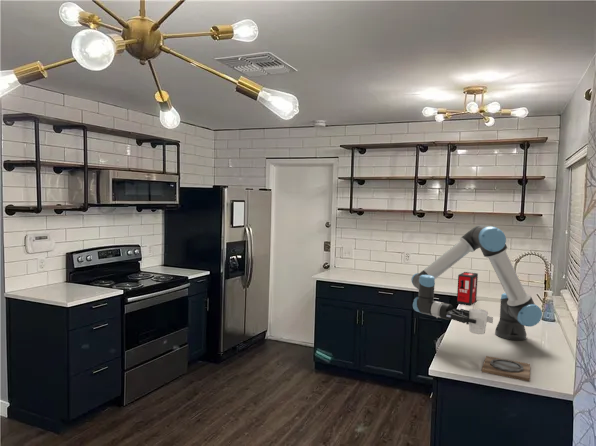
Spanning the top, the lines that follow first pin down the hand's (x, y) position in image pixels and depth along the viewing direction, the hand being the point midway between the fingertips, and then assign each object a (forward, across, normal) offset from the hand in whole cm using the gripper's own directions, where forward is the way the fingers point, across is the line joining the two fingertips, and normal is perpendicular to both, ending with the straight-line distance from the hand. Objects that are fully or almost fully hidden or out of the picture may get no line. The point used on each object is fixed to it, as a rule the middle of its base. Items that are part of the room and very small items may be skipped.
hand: (488, 321), depth 201 cm
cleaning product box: (-61, -96, -18) cm, 116 cm away
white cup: (-5, 0, -6) cm, 8 cm away
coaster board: (+10, +3, -18) cm, 21 cm away
